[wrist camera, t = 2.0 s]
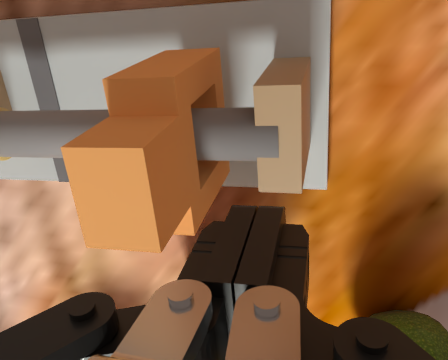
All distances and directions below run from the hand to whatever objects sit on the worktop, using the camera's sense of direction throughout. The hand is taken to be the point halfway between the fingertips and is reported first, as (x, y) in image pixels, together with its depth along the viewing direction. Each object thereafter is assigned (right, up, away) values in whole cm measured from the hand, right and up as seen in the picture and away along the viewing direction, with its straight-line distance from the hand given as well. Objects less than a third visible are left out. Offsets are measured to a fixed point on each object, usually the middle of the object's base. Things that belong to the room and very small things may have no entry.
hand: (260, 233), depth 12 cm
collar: (-2, +5, +12) cm, 13 cm away
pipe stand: (-7, +7, +15) cm, 18 cm away
